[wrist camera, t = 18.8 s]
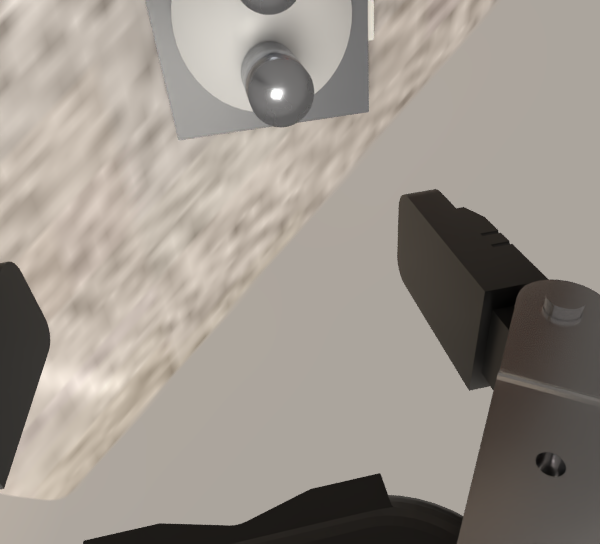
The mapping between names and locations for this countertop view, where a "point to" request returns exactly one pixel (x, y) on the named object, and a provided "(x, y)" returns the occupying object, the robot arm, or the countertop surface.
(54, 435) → the countertop surface
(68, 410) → the countertop surface
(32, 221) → the countertop surface
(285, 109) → the cylinder
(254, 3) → the cylinder
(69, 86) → the countertop surface
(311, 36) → the scale
